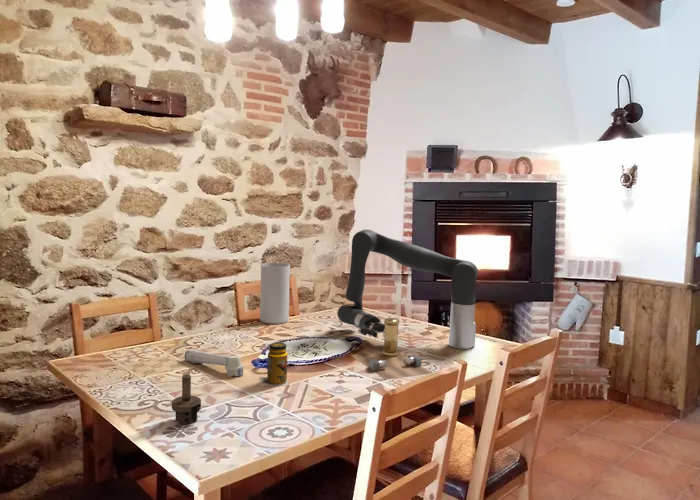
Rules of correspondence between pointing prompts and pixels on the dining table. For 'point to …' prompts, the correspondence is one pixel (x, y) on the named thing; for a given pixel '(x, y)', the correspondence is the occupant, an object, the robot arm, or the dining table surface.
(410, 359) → the shaft
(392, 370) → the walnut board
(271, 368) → the condiment
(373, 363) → the shaft
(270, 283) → the cylinder vase
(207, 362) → the grey lever handle
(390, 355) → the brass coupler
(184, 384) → the industrial component
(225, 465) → the dining table surface
